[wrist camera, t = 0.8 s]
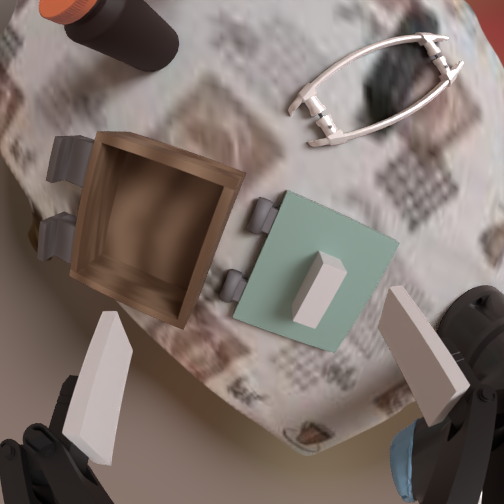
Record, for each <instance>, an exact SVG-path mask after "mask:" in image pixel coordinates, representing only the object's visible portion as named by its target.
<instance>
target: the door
mask: <svg viewBox="0 0 504 504" xmlns="http://www.w3.org/2000/svg"><path fill="white" fill-rule="evenodd" d="M272 205H273V202H271V201H270V200H267V199H265V198H262V197H259V199H258V201H257V204H256V206H255V209H254V211H253V214H252V216H251V218H250V221H249V223H248V226H247V230H249V231H250V232H252V233H255V234H261V231H263V232H266V233H268V235H267V237H266V239H265V241H264V244H263V246H262V248H261V251H260V253H259V255H258V258H257V260H256V262H255V264H254V267H253V269H252V271H251V274H250V276H249V278H248V280H247V279H245V278H242V276H243V275H242V273H241V272H239V271H237V270H234V269H230V270H229V273H228V275H227V278H226V280H225V283H224V285H223V288H222V290H221V293H220V295H219V298H220V299H221V300H222V301H224V302H228V303H229V302H232V300H235V301H237V302H238V303H237V306H236V308H235V310H234V313H233V317H232V318H234V319H237V320H240V321H242V322H245V323H248V324H251V325H253V326H256V327H259V328H262V329H264V330H267V331H270V332H273V333H276V334H279V335H281V336H284V337H287V338H290V339H293V340H296V341H299V342H302V343H305V344H308V345H311V346H314V347H317V348H320V349H323V350H327V351H330V352H333V353H335V352H336V350H337V349H338V347H339V346H340V344H341V343H342V341H343V340H344V338H345V336H346V335H347V333H348V332H349V330H350V329H351V327H352V326H353V324H354V322H355V321H356V319H357V318H358V316H359V314H360V313H361V311H362V310H363V308H364V306H365V305H366V303H367V301H368V300H369V298H370V296H371V294H372V293H373V291H374V289H375V288H376V286H377V284H378V282H379V281H380V279H381V277H382V275H383V273H384V272H385V270H386V268H387V266H388V264H389V263H390V261H391V259H392V257H393V255H394V253H395V251H396V249H397V247H398V246H399V244H400V243H399V242H397V241H396V240H395V239H393V238H391V237H389V236H387V235H385V234H383V233H381V232H379V231H377V230H375V229H373V228H371V227H369V226H366V225H364V224H362V223H360V222H358V221H356V220H354V219H352V218H350V217H347V216H345V215H343V214H341V213H339V212H337V211H334V210H332V209H330V208H328V207H326V206H323V205H321V204H319V203H317V202H314V201H312V200H310V199H307V198H305V197H303V196H301V195H298V194H296V193H294V192H291V191H289V190H287V191H286V193H285V195H284V198H283V200H282V202H281V205H280V207H279V209H277V208H275V207H272Z"/></svg>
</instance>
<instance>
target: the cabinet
mask: <svg viewBox="0 0 504 504" xmlns="http://www.w3.org/2000/svg"><path fill="white" fill-rule="evenodd" d="M245 175H246V173H245V172H242V171H240V170H237V169H234V168H232V167H229V166H227V165H224V164H221V163H219V162H216V161H213V160H211V159H208V158H205V157H202V156H200V155H197V154H194V153H191V152H188V151H186V150H183V149H180V148H177V147H174V146H171V145H168V144H165V143H162V142H159V141H156V140H153V139H150V138H147V137H144V136H141V135H138V134H135V133H132V132H110V131H97V133H96V137H95V140H93V139H90V138H87V137H84V136H81V135H78V136H57V137H55V139H54V144H53V148H52V152H51V157H50V162H49V167H48V172H47V177H46V181H48V182H50V183H54V182H58V181H62V180H66V181H69V182H71V183H73V184H76V185H78V186H81V187H83V189H82V194H81V199H80V204H79V210H78V215H77V217H75V216H73V215H70V214H68V213H66V212H62V213H59V214H57V215H55V216H52V217H50V218H48V219H45V220H43V221H41V222H40V228H39V239H38V254H37V259H38V260H40V261H42V262H43V261H45V260H47V259H48V258H50V257H52V256H53V255H55V256H56V257H58V258H60V259H62V260H64V261H66V262H68V263H69V264H71V265H70V277H72V278H74V279H76V280H77V281H79V282H81V283H83V284H85V285H87V286H89V287H91V288H93V289H95V290H97V291H99V292H101V293H103V294H105V295H107V296H109V297H111V298H113V299H115V300H117V301H119V302H121V303H124V304H126V305H128V306H130V307H132V308H134V309H137V310H139V311H141V312H143V313H145V314H148V315H150V316H152V317H154V318H157V319H159V320H161V321H164V322H166V323H168V324H171V325H173V326H175V327H178V328H180V329H184V327H185V325H186V323H187V321H188V319H189V317H190V315H191V313H192V311H193V309H194V307H195V304H196V302H197V300H198V298H199V296H200V293H201V290H202V287H203V285H204V282H205V279H206V277H207V274H208V271H209V268H210V266H211V263H212V260H213V258H214V255H215V252H216V250H217V247H218V244H219V242H220V239H221V236H222V234H223V231H224V228H225V226H226V223H227V221H228V218H229V215H230V213H231V210H232V208H233V205H234V203H235V200H236V198H237V195H238V192H239V190H240V187H241V185H242V182H243V180H244V177H245Z"/></svg>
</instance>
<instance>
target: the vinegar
mask: <svg viewBox="0 0 504 504" xmlns="http://www.w3.org/2000/svg"><path fill="white" fill-rule="evenodd" d="M39 12H40V15H41V16H42V17H43V18H46V19H48V20H51V21H53V22H55V23H58V24H62V25H64V29H65V31H66V34H67V36H68V37H69V38H70V39H71V40H73V41H74V42H76V43H79V44H81V45H84V46H86V47H89V48H91V49H94V50H96V51H99V52H101V53H103V54H106V55H108V56H110V57H113V58H115V59H117V60H119V61H122V62H124V63H126V64H128V65H130V66H133V67H135V68H137V69H139V70H142V71H155V70H158V69H161V68H163V67H164V66H166V65H168V64H169V63H170V62H171V61H172V60H173V59H174V57H175V55H176V53H177V51H178V47H179V39H178V35H177V34H176V32H175V31H174V30H173V29H172V28H171V27H170V26H169V25H168V24H167V23H166V22H165V21H164V20H163V19H162V18H161V17H160V16H159V15H158V14H157V13H156V12H155V11H154V10H153V9H152V8H151V7H150V6H149V5H148V4H147V3H146V2H145V1H144V0H40V2H39Z"/></svg>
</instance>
